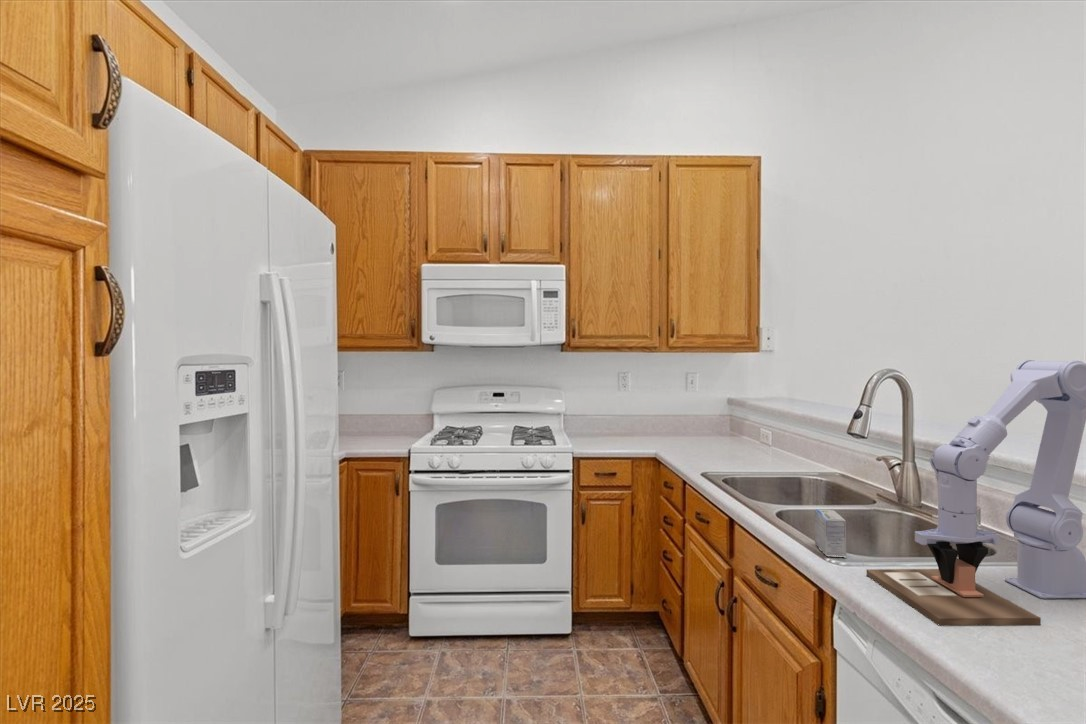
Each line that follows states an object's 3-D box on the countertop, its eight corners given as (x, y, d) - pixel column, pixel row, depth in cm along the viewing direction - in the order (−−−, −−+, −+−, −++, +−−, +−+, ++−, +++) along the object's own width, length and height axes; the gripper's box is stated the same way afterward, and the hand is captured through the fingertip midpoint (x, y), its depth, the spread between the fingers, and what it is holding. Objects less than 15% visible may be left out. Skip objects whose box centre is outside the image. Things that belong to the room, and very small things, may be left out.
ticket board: (949, 574, 109) (949, 567, 109) (1040, 624, 89) (1040, 616, 89) (866, 575, 109) (866, 568, 109) (939, 625, 89) (939, 616, 89)
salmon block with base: (949, 577, 104) (949, 553, 104) (983, 596, 96) (983, 570, 96) (931, 578, 104) (931, 553, 104) (963, 596, 96) (963, 570, 96)
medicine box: (846, 559, 117) (846, 520, 117) (825, 557, 118) (825, 519, 118) (834, 546, 125) (834, 509, 125) (814, 545, 126) (814, 508, 126)
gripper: (978, 503, 103) (977, 572, 104) (903, 503, 103) (903, 572, 104) (1010, 514, 96) (1009, 588, 96) (930, 514, 96) (929, 588, 97)
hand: (956, 581), depth 100 cm, fingers closed on salmon block with base, 3 cm apart
